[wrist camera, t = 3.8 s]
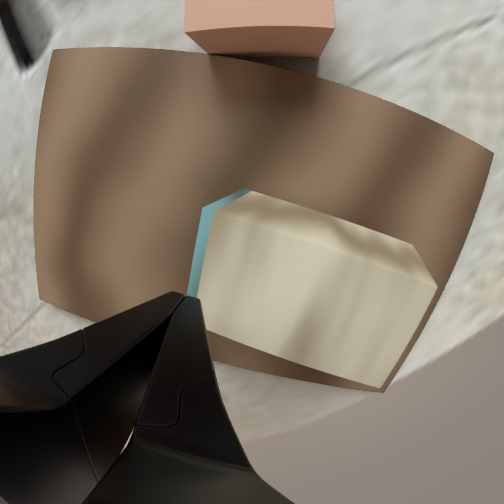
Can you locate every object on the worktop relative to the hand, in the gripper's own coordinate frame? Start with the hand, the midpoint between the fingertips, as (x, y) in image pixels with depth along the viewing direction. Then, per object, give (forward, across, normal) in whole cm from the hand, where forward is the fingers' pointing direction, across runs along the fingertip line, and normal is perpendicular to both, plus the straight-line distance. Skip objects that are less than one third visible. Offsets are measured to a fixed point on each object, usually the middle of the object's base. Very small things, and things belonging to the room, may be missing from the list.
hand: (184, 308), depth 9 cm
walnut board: (+8, 0, 0) cm, 8 cm away
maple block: (+5, 0, 0) cm, 5 cm away
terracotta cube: (+8, +1, -11) cm, 14 cm away
